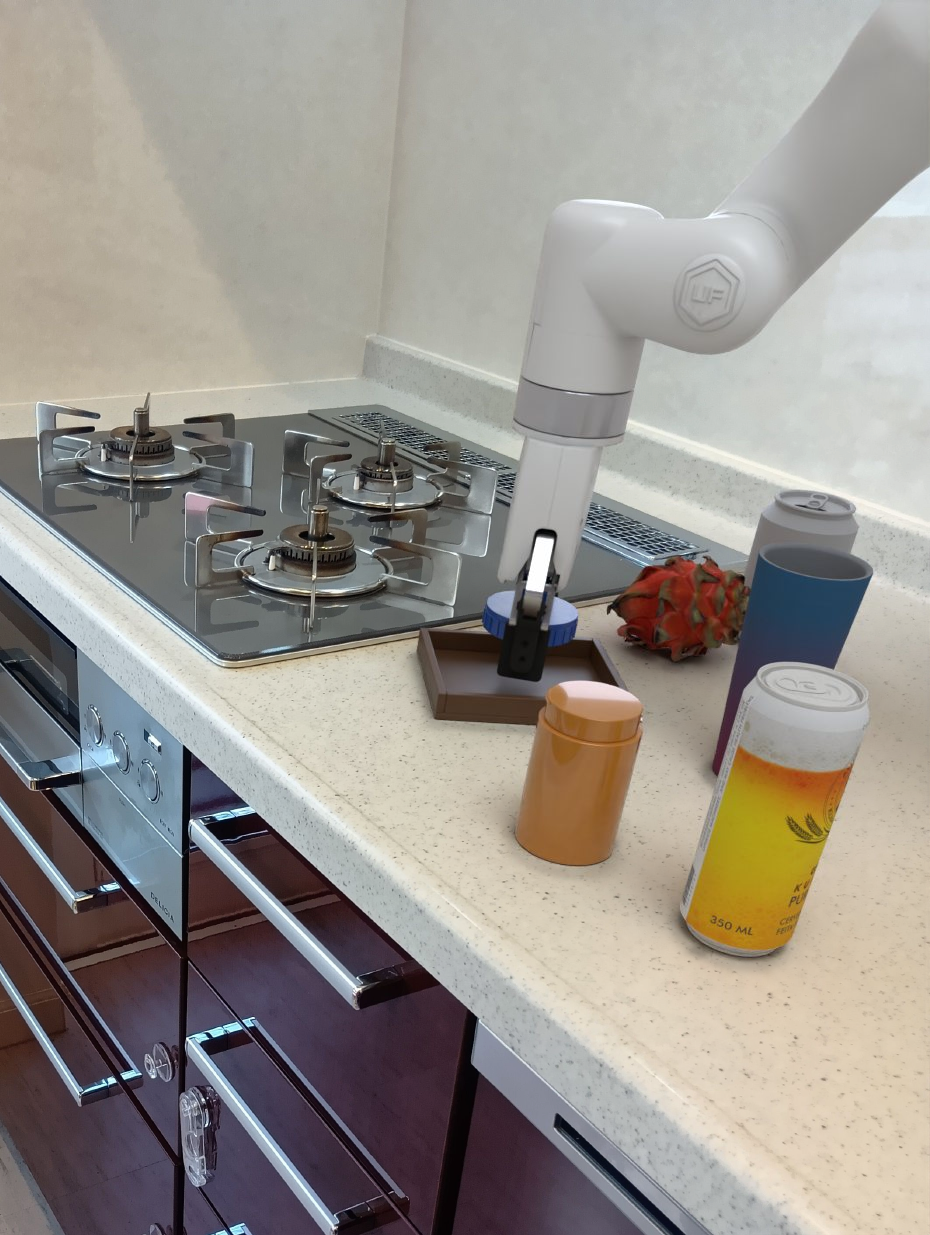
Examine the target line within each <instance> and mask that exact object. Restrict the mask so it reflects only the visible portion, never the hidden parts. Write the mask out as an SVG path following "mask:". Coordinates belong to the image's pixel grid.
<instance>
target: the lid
mask: <svg viewBox="0 0 930 1235" xmlns="http://www.w3.org/2000/svg"><path fill="white" fill-rule="evenodd" d="M514 594H515V590H505V591H499V592H496V593H494V594H492V595H489V596H488V598H487V599H486V602H485V604H484V608H483V613H482V618H481V623H482V628H484V629H485V630H486V632H489V633H490V634H492V635H493V636H495V637H497V638H499V639H502V640H503V635H504V629H505V624H506V621H509V620H510V614H511V609H512V604H513V599H514ZM524 595H525V591H523V594H522V597H524ZM546 599H547V594H543V598H542V600H544V601H545V603H546ZM542 618H543V616H542ZM578 623H579V611H578V609H577V607H575V606H574V605H573V604H572V603H570V602H569V601H566V600H564V599H562V598H560V597H558V598H557V597H554V601H553V606H552V611H551V616H550V621H549V626H548V627H549V628H552V629H551V634H550V639H549V644H548V647H554V646H560V645H563V644H566V643H568V642H570V641H571V640H572V639H573V638H575V637H576V633H577V628H578ZM540 626H541V625H540Z"/></svg>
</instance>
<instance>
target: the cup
mask: <svg viewBox="0 0 930 1235" xmlns="http://www.w3.org/2000/svg"><path fill="white" fill-rule="evenodd" d="M873 575H874V568H873V567H872V565H871V564H870V563H869V562H867V561H866V560H864V559H863V558H861V557H858V556H857V555H854V554H852V553H850V554H849V553H846V552H843V551H840V550H837V549H833V548H829V547H824V546H819V545H813V544H805V543H792V542H784V543H773V544H769V545H766V546H763V547H762V548H761V549H760V550H759V554H758V558H757V563H756V567H755V572H754V577H753V581H752V586H751V590H750V595H749V600H748V604H747V609H746V613H745V618H744V623H743V627H742V632H741V636H740V638H739V639H740V641H739V643H738V645H737V651H736V655H735V660H734V663H733V669H732V673H731V679H730V682H729V688H728V692H727V695H726V696H727V697H726V701H725V705H724V710H723V714H722V715H723V716H722V718H721V719H722V720H721V725H720V728H719V734H718V739H717V742H716V748H715V751H714V757H713V761H712V766H711V768H712V771H713V772H714V774H715V775H716V776H718V775H719V772H720V768H721V765H722V761H723V758H724V755H725V751H726V748H727V744H728V741H729V738H730V734H731V731H732V727H733V724H734V721H735V717H736V714H737V710H738V707H739V704H740V700H741V697H742V693H743V690H744V688H745V687H746V686H747V685H748V684H749V683H750V682H751V681H752V680H753V679H754V677H755V676H756V675H757V672H758V670H759V669H760V668H761V667H763V666H765V665H767V664H771V663H777V662H799V663H807V664H813V665H818V666H822V667H826V668H829V669H833V670H835V668H836V665H837V664H838V661H839V658H840V656H841V653H842V651H843V649H844V646H845V644H846V642H847V638H848V636H849V634H850V632H851V630H852V626H853V624H854V621H855V619H856V618H857V614H858V612H859V609H860V608H861V605H862V602H863V600H864V597H865V595H866V593H867V590H868V588H869V585H870V582H871V580H872V577H873Z"/></svg>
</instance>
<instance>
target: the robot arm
mask: <svg viewBox="0 0 930 1235" xmlns="http://www.w3.org/2000/svg"><path fill="white" fill-rule="evenodd" d="M864 23H865V24H863V26H861V28H860V30H859V31H858V33H857V34H856V35H855V37H854V38H853V39H852V41H851V43H850V44H849V46H848V48H847V49H846V51H845V52H844V54H843V56H842V58H841V60H840V62H839V63H838V65H837V66H836V68H835V70H834V71H833V73H832V74H831V76H830V78H829V79H828V80H827V82H826V83H825V84H824V85H823V87H822V89H821V90H820V91H819V92H818V94H817V95H816V97H815V98H814V99H813V100H812V102H811V103H810V104H809V106H808V107H807V108H806V109H805V110H804V112H803V113H802V114H801V115H799V117H798V119H797V120H796V121H795V122H794V123H793V124H792V126H790V128H789V129H788V130H787V131H786V133H784V135H783V136H782V137H781V138H780V139H779V140H778V141H777V143H776V144H774V146H773V147H772V148H771V149H770V150H769V151H768V153H766V154H765V156H764V157H763V158H762V159H761V160H760V161H759V162H758V163H757V165H756V166H754V168H753V169H752V170H751V171H750V172H749V173H748V174H747V175H746V176H745V177H744V178H743V179H742V180H741V181H740V183H738V185H736V187H735V188H734V189H733V190H732V191H731V192H730V193H729V194H728V196H726V197H725V199H724V200H723V201H722V202H721V203H720V204H719V205H718V206H717V207H716V208H715V209H714V210H713V211H712V212H711V213H710V214H709V215H708V216H706V217H702V218H665V217H664V216H663V215H662V213H661V212H659V211H657V210H655V208H653V207H649V206H645V205H641V204H637V203H632V202H625V201H619V200H609V199H608V200H607V199H606V200H605V199H595V198H594V199H593V198H592V199H591V198H590V199H589V198H586V199H585V198H582V199H581V198H580V199H570V200H568V201H564V202H562V203H560V204H559V205H557V206H556V207H555V208H554V210H553V211H552V212H551V213H550V216H549V217H548V220H547V222H546V225H545V229H544V235H543V239H542V245H541V251H540V256H539V263H538V269H537V274H536V280H535V286H534V291H533V299H532V304H531V308H530V309H531V310H530V315H529V321H528V328H527V333H526V338H525V344H524V351H523V355H522V356H523V357H522V362H521V368H520V375H519V379H518V386H517V392H516V397H515V404H514V409H513V414H512V420H511V429H514V431H515V432H517V433H518V434H520V435H521V436H522V435H523V436H524V440H523V443H522V447H521V451H520V455H519V459H518V464H517V469H516V473H515V479H514V484H513V489H512V494H511V500H510V506H509V512H508V516H507V523H506V528H505V532H504V537H503V538H504V540H503V544H502V550H501V554H500V559H499V564H498V569H497V575H496V577H497V579H498V581H499V582H500V583H501V584H504V585H505V584H506V582H507V581H510V582H514V581H515V580H516V582H515V588H514V591H515V594H514V599H513V604H512V609H511V614H510V620H509V621H506V624H505V629H504V635H503V640H502V646H501V651H500V656H499V662H498V667H497V674H498V675H499V676H502V677H508V678H514V679H520V680H526V681H532V682H539V681H540V680H541V678H542V673H543V668H544V663H545V658H546V653H547V649H548V644H549V639H550V634H551V629H552V628H549V627H548V626H549V621H550V616H551V611H552V606H553V601H554V597H557V598H559V592H561V591H562V590H564V589H565V588H566V589H567V585H568V583H569V579H570V576H571V573H572V571H573V567H574V564H575V561H576V558H577V554H578V552H579V549H580V546H581V543H582V542H581V541H582V538H583V535H584V532H585V527H586V523H587V519H588V515H589V512H590V507H591V503H592V499H593V495H594V491H595V486H596V482H597V477H598V473H599V468H600V464H601V460H602V455H603V450H604V447H613V446H616V445H618V444H621V443H622V442H623V441H624V439H625V435H626V430H627V425H628V420H629V416H630V411H631V407H632V402H633V398H634V393H635V388H636V384H637V378H638V374H639V370H640V365H641V360H642V357H643V356H642V355H643V352H644V346H645V343H646V340H648V341H651V342H654V343H658V344H661V345H664V346H666V347H669V348H673V349H676V350H679V351H683V352H686V353H691V354H695V355H706V356H707V355H708V356H713V355H721V354H725V353H730V352H732V351H734V350H735V351H736V350H737V349H739V348H741V347H743V346H744V345H746V344H748V343H750V342H751V341H752V340H753V339H755V338H756V337H757V336H758V335H759V334H760V333H762V331H763V330H764V328H766V326H767V325H768V324H769V322H770V321H772V318H773V317H774V316H775V314H776V313H777V312H778V311H779V310H780V309H781V308H782V307H783V306H784V304H785V303H787V301H788V300H789V299H791V297H793V295H794V294H795V293H796V292H797V291H799V289H800V288H801V287H802V286H803V285H804V284H805V283H806V282H807V281H808V280H809V279H810V278H811V277H813V275H814V274H815V273H816V272H817V271H818V270H819V269H820V268H821V267H822V266H824V264H826V262H827V261H828V260H829V259H830V258H831V257H832V256H833V255H834V254H835V253H837V251H838V250H839V249H840V248H841V247H842V246H844V245H845V243H847V241H848V240H849V239H851V237H853V236H854V235H855V234H856V233H857V231H859V230H860V229H861V228H862V227H863V226H864V225H865V224H866V223H867V222H868V221H869V220H870V219H871V218H872V217H874V215H876V213H878V212H879V210H881V209H882V208H883V207H884V206H885V205H886V204H887V203H888V202H889V201H891V200H892V198H894V197H895V196H896V195H897V194H898V193H899V192H900V191H901V190H902V189H904V188H905V186H907V185H909V183H911V182H912V181H913V180H915V178H917V177H918V176H919V175H920V174H922V173H923V172H925V171H926V170H928V169H929V168H930V0H882V2H881V3H880V4H879V6H878V7H876V9H875V11H874V12H873V13H872V14H871V15H870V17H869V18H868V19H867V21H865V22H864ZM516 578H517V579H516ZM523 591H525V595H524V597H522V594H523ZM543 594H547V599H546V603H545V601H544V600H542V598H543ZM542 616H543V618H542ZM540 625H541V626H540Z"/></svg>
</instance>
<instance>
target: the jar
mask: <svg viewBox="0 0 930 1235" xmlns="http://www.w3.org/2000/svg"><path fill="white" fill-rule="evenodd" d="M545 700H546V706H544V707H543V708H542V709H541V710H540V712H539V714H538V719H537V724H536V725H535V729H534V734H533V739H532V744H531V750H530V753H529V759H528V764H527V768H526V773H525V779H524V784H523V787H522V788H523V789H522V794H521V799H520V803H519V808H518V813H517V818H516V823H515V828H514V836H515V838H516V841H517V842H518V843H519V845H520V846H521V847H522V848H523V849H524V850H526V851H527V852H529V853H531V854H532V855H533V856H535V857H538V858H540V859H542V860H545V861H548V862H552V863H555V864H560V865H567V866H590V865H595V864H599V863H602V862H604V861H606V860H607V859H608V858H609V857H610V856H612V854H613V852H614V848H615V845H616V840H617V837H618V832H619V830H620V825H621V820H622V817H623V812H624V809H625V806H626V801H627V797H628V793H629V789H630V785H631V781H632V777H633V773H634V770H635V765H636V761H637V757H638V753H639V749H640V746H641V742H642V739H643V738H642V737H643V734H644V730H643V726H642V724H643V722H644V721H643V717H644V715H643V711H644V706H643V703H642V701H641V700H640V699H639V698H638V697H637V696H635V695H634V694H633V693H632V692H630V691H629V692H627V691H625V690H623V689H621V688H618V687H615V686H612V685H609V684H604V683H599V682H593V681H567V682H562V683H559V684H556V685H555V686H553V687H552V688H550V689H549V690H548V692H546V697H545Z"/></svg>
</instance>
